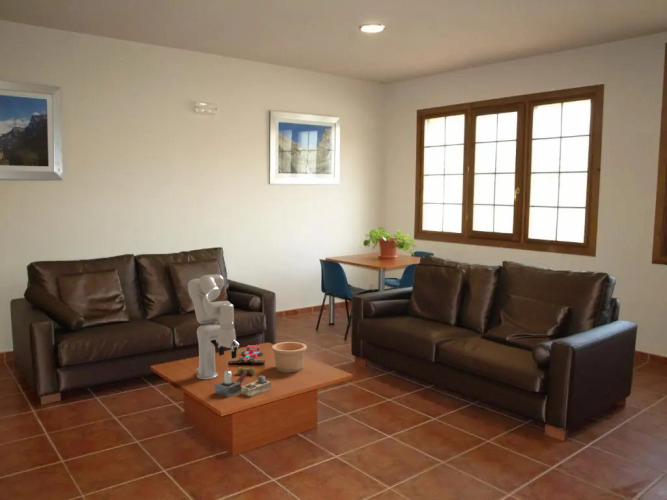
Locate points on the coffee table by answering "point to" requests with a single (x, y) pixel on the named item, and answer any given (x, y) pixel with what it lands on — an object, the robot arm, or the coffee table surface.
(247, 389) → the rack
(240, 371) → the gavel
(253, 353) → the race car
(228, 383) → the silver metal cylinder
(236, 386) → the socket
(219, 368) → the coffee table surface
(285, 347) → the pottery
